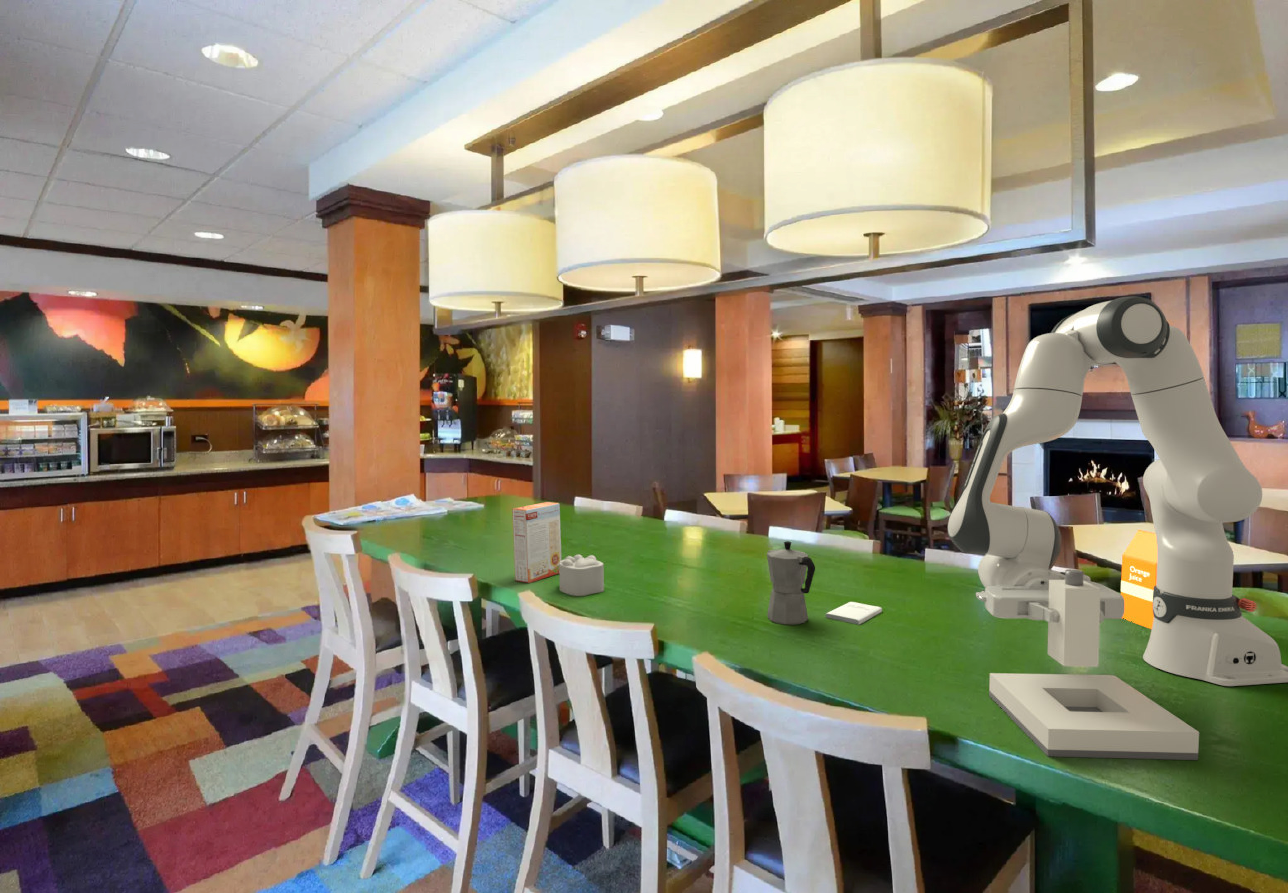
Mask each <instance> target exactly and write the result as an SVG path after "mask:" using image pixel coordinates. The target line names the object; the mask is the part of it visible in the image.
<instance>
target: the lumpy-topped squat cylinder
mask: <svg viewBox="0 0 1288 893" xmlns="http://www.w3.org/2000/svg"><path fill="white" fill-rule="evenodd" d="M604 570H605V569H604V563H603V562H602V561H599V560H597V558H596V556H594V555H592V554H591V555H588V556H586V557H583V555H581V554H575V555H574V556H572V555H568V556H566V557H565V558H564V559H561V561H560V562H559V574H558V575H559V580H558V581H559V592H561V593H564V594H567V595H568V596H569V595H571V596H574V597H584V596H588V595H592V594H597V593H599V594H600V593H602V592H604V590H605V583H604V582H605V580H604V578H605V577H604V576H605V574H604V573H605V571H604Z"/></svg>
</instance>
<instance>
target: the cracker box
mask: <svg viewBox="0 0 1288 893" xmlns="http://www.w3.org/2000/svg"><path fill="white" fill-rule="evenodd" d="M560 508H561V507H560V503H559V502H552V501H551V502H550V501H545V502H541V503H535V504H531V505H525V506H520V507H514V508H512V509H511V510H512V511H511V512H512V532H513V533H512V534H513V536H512V537H513V559H514V578H515V581H517V582H522V583H528V584H531V583H533V582H537V581H540V580H543V579H546V578H548V577H552V576H555V575H559V562H560V561H561V560H562V540H561V533H562V532H561V511H560V510H561V509H560Z"/></svg>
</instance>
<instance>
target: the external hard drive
mask: <svg viewBox="0 0 1288 893" xmlns="http://www.w3.org/2000/svg"><path fill="white" fill-rule="evenodd" d="M882 612H883V608H882V607H881V606H876V605H869V604H865V603H861V602H860V603H859V602H856V601H849V602H847V603H845V604H843V605H841V606H839V607H836V608H834V609H833V610H830V611H828V612H826V613H825V618H826V619H832V620H834V621H840V622H845V623H849V624H854V625H861V624H863V623H865V622H866V621H868V620H870V619H872V618H874V617H875V616H878V615H879V614H880V613H882Z"/></svg>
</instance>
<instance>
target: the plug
mask: <svg viewBox="0 0 1288 893" xmlns="http://www.w3.org/2000/svg"><path fill="white" fill-rule="evenodd" d="M1064 572H1065V580H1049V608H1054V609H1055V610H1057V611H1058V612H1059V617H1058V618H1059V622H1047V624H1048V625H1047V627H1048V628H1047V655H1048V656H1050V657H1051V658H1052V659H1053V660H1054V661H1056V662H1058V663H1059V664H1061V666H1063V667H1091V668H1092V667H1093V668H1094V667H1096V668H1098V667H1099V665H1100V664H1099V662H1100V661H1099V659H1100V658H1099V656H1100V653H1099V652H1100V651H1099V650H1100V588H1098V587H1096V586H1094V585H1092V584H1090V583H1088V582H1086V581H1084V580H1083V577H1084V575H1085V573H1084V571H1083V570H1080V569H1074V568H1073V569H1072V568H1067V569H1065V570H1064Z"/></svg>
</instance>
